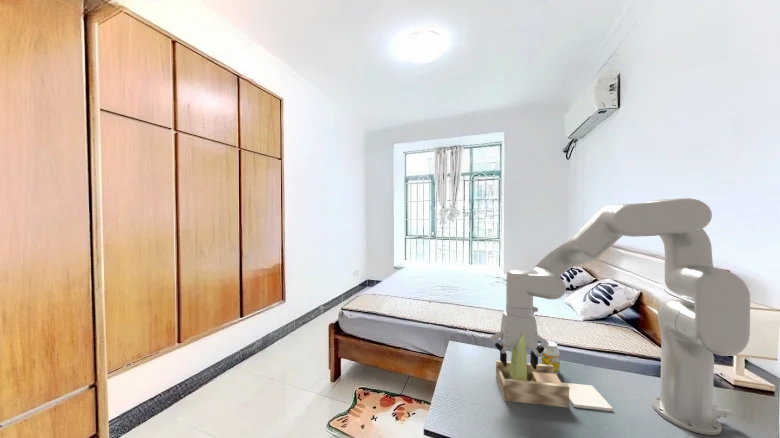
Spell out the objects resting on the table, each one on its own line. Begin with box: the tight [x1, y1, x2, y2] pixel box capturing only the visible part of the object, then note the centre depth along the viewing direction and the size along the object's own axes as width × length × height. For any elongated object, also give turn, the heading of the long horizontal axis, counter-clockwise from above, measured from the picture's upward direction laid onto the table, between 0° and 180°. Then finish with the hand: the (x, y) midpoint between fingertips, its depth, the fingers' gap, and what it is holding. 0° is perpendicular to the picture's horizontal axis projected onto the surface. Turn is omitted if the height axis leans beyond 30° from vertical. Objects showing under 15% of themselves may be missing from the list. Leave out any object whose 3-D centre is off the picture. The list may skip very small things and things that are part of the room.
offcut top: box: [532, 371, 563, 384], centre depth 82 cm, size 7×6×2 cm
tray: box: [495, 359, 570, 408], centre depth 82 cm, size 18×11×6 cm, turn 80°
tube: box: [510, 333, 528, 381], centre depth 83 cm, size 6×5×20 cm
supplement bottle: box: [541, 340, 561, 375], centre depth 93 cm, size 5×5×10 cm
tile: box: [561, 382, 614, 412], centre depth 80 cm, size 10×10×1 cm
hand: (518, 365), depth 83 cm, fingers open, 8 cm apart
